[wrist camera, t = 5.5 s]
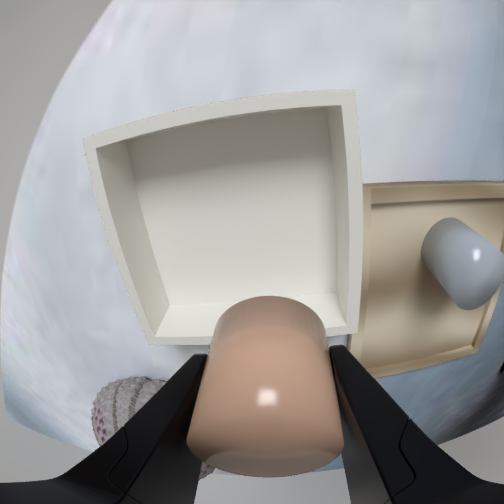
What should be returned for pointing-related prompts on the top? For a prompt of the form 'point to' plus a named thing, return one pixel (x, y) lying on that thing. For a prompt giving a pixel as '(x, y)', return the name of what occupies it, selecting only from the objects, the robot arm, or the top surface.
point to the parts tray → (418, 275)
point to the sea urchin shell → (125, 408)
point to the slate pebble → (463, 262)
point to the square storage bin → (235, 210)
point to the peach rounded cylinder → (267, 392)
